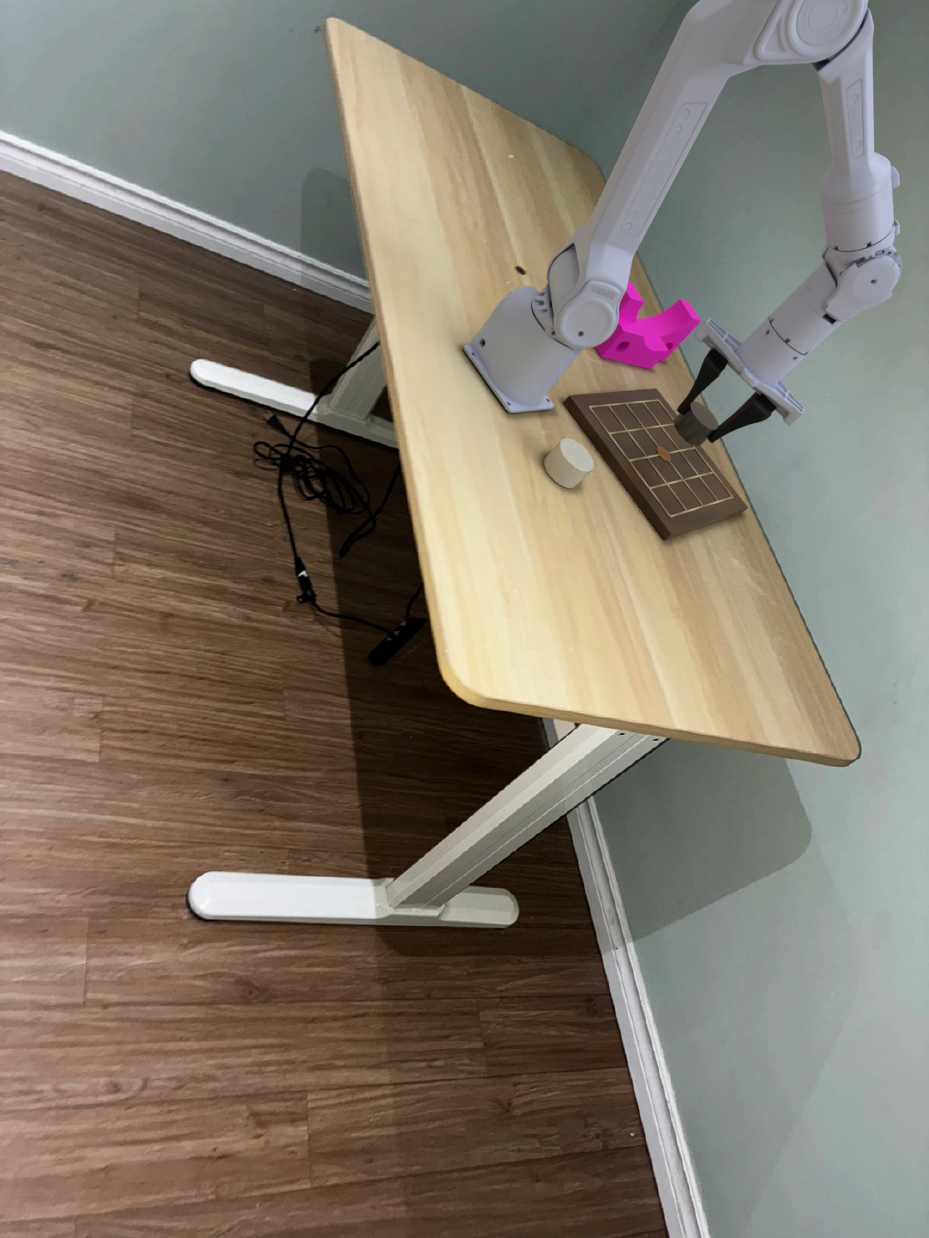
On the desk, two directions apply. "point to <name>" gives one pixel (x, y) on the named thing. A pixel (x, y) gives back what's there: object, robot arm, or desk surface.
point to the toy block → (647, 331)
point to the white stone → (568, 463)
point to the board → (656, 460)
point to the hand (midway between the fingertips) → (695, 423)
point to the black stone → (696, 424)
